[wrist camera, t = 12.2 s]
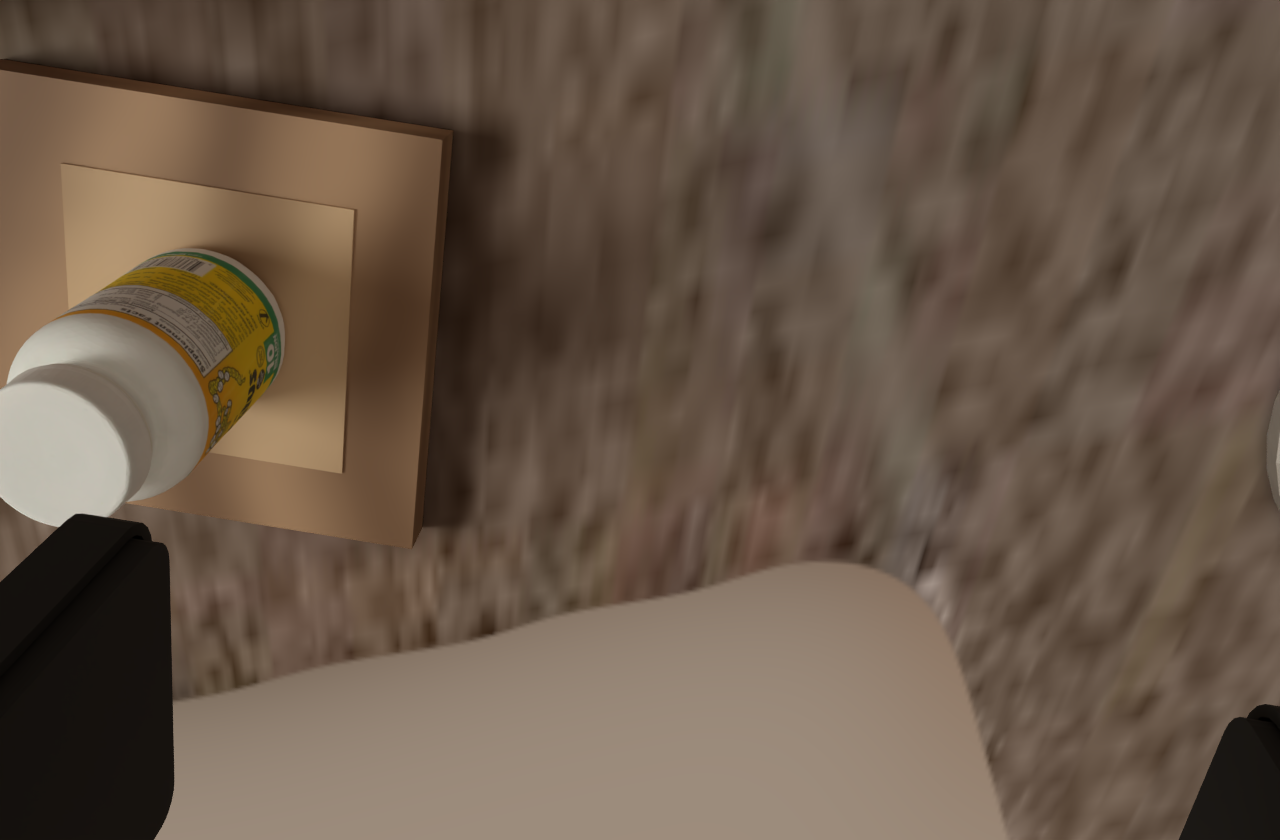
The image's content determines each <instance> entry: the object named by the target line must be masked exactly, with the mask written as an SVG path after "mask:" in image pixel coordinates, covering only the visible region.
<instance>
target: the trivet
mask: <svg viewBox="0 0 1280 840" xmlns="http://www.w3.org/2000/svg"><path fill="white" fill-rule="evenodd" d="M452 141H453V130H446V129H440V128H434V127H427V126H421V125H415V124H409V123H402V122H396V121H390V120H383V119H377V118H371V117H364V116H358V115H352V114H345V113H339V112H333V111H326V110H320V109H314V108H308V107H301V106H295V105H289V104H282V103H276V102H270V101H263V100H257V99H251V98H244V97H238V96H232V95H225V94H219V93H213V92H207V91H200V90H194V89H188V88H181V87H175V86H169V85H162V84H156V83H150V82H143V81H137V80H131V79H124V78H118V77H112V76H106V75H99V74H93V73H87V72H80V71H74V70H68V69H61V68H55V67H49V66H42V65H36V64H30V63H23V62H17V61H11V60H5V59H0V389H1V388H3V387H4V386H5V385H7V379H8V374H9V371H10V368H11V365H12V363H13V361H14V358H15V357H16V355H17V353H18V351H19V350H20V348H21V347H22V346H23V344H24V343H25V342H26V341H27V340H28V339H29V338H30V337H31V336H32V335H33V334H34V333H35V332H36V331H38V330H39V329H41V328H42V327H43V326H45V325H46V324H48V323H49V322H51V321H52V320H54V319H55V318H57V317H58V316H60V315H62V314H63V313H65V312H66V311H68V310H70V309H71V308H73V307H74V306H76V305H78V304H79V303H81V302H82V301H84V300H86V299H87V298H89V297H90V296H92V295H94V294H95V293H97V292H98V291H100V290H101V289H103V288H104V287H106V286H107V285H109V284H111V283H112V282H114V281H115V280H117V279H118V278H120V277H121V276H123V275H124V274H126V273H127V272H129V271H130V270H131V269H133V268H134V267H136V266H138V265H139V264H141V263H142V262H144V261H146V260H148V259H150V258H151V257H153V256H156V255H158V254H160V253H163V252H166V251H170V250H175V249H182V248H197V249H205V250H209V251H213V252H217V253H220V254H223V255H226V256H228V257H230V258H232V259H234V260H236V261H238V262H240V263H241V264H242V265H244V266H245V267H246V268H248V269H249V270H250V271H252V272H253V273H254V274H255V275H256V276H257V277H258V278H259V279H260V280H261V281H262V282H263V283H264V284H265V285H266V287H267V288H268V289H269V290H270V292H271V293H272V294H273V296H274V298H275V300H276V302H277V304H278V307H279V309H280V312H281V315H282V317H283V322H284V329H285V347H284V358H283V363H282V365H281V368H280V371H279V373H278V375H277V376H276V378H275V380H274V381H273V383H272V384H271V385H270V386H269V388H268V389H267V390H266V391H265V392H264V394H263V395H262V396H261V397H260V398H259V399H258V400H257V401H256V402H255V403H254V404H253V405H252V406H251V407H250V409H249V410H248V411H247V412H246V413H245V414H244V415H243V416H242V417H241V418H240V419H239V420H238V422H237V423H236V424H235V425H234V426H233V427H232V428H231V429H230V430H229V431H228V432H227V433H226V434H225V435H224V436H223V437H222V438H221V439H220V441H219V442H218V443H217V444H216V445H215V446H214V447H213V448H212V449H211V450H210V452H209V453H208V454H207V455H206V456H205V457H204V458H203V459H202V460H201V462H200V463H199V464H198V465H197V466H196V467H195V468H194V469H193V471H192V472H191V473H190V474H189V475H188V476H187V477H186V478H184V479H183V480H182V481H180V482H179V483H178V484H176V485H175V486H174V487H172V488H170V489H169V490H167V491H165V492H163V493H161V494H159V495H156V496H154V497H151V498H147V499H143V500H137V501H130V502H126V503H129V504H135V505H141V506H148V507H154V508H160V509H166V510H172V511H179V512H185V513H191V514H197V515H203V516H210V517H216V518H222V519H228V520H235V521H241V522H247V523H253V524H259V525H266V526H272V527H278V528H284V529H290V530H297V531H303V532H309V533H315V534H321V535H328V536H334V537H340V538H346V539H352V540H359V541H365V542H371V543H377V544H383V545H390V546H396V547H402V548H408V549H412V548H413V546H414V544H415V542H416V539H417V537H418V535H419V533H420V531H421V529H422V524H423V511H424V498H425V486H426V473H427V460H428V447H429V434H430V422H431V409H432V396H433V383H434V371H435V358H436V345H437V332H438V320H439V307H440V294H441V281H442V269H443V256H444V243H445V230H446V218H447V205H448V192H449V179H450V166H451V154H452Z"/></svg>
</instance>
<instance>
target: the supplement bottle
mask: <svg viewBox="0 0 1280 840" xmlns="http://www.w3.org/2000/svg"><path fill="white" fill-rule="evenodd" d="M284 347H285V329H284V322H283V317H282V315H281V312H280V309H279V307H278V304H277V302H276V300H275V298H274V296H273V294H272V293H271V292H270V290H269V289H268V288H267V287H266V285H265V284H264V283H263V282H262V281H261V280H260V279H259V278H258V277H257V276H256V275H255V274H254V273H253V272H252V271H250V270H249V269H248V268H246V267H245V266H244V265H242V264H241V263H240V262H238V261H236V260H234V259H232V258H230V257H228V256H226V255H223V254H220V253H217V252H213V251H209V250H205V249H197V248H182V249H175V250H170V251H166V252H163V253H160V254H158V255H156V256H153V257H151V258H150V259H148V260H146V261H144V262H142V263H141V264H139V265H138V266H136V267H134V268H133V269H131V270H130V271H129V272H127V273H126V274H124V275H123V276H121V277H120V278H118V279H117V280H115V281H114V282H112V283H111V284H109V285H107V286H106V287H104V288H103V289H101V290H100V291H98V292H97V293H95V294H94V295H92V296H90V297H89V298H87V299H86V300H84V301H82V302H81V303H79V304H78V305H76V306H74V307H73V308H71V309H70V310H68V311H66V312H65V313H63V314H62V315H60V316H58V317H57V318H55V319H54V320H52V321H51V322H49V323H48V324H46V325H45V326H43V327H42V328H41V329H39V330H38V331H36V332H35V333H34V334H33V335H32V336H31V337H30V338H29V339H28V340H27V341H26V342H25V343H24V344H23V346H22V347H21V348H20V350H19V351H18V353H17V355H16V357H15V358H14V361H13V363H12V365H11V368H10V371H9V374H8V379H7V385H5V386H4V387H3V388H1V389H0V497H1V498H2V499H3V500H4V501H5V502H6V503H8V504H9V505H10V506H12V507H13V508H14V509H16V510H17V511H19V512H20V513H22V514H24V515H26V516H27V517H29V518H32V519H34V520H36V521H39V522H41V523H44V524H48V525H51V526H56V527H60V526H61V525H62V524H63V523H64V522H65V521H66V520H67V519H69V518H70V517H72V516H73V515H75V514H82V513H83V514H89V515H96V516H102V517H109V516H110V515H112V514H113V513H115V512H116V511H117V510H118V509H119V508H120V507H122V506H123V505H124V504H125V503H126V502H130V501H137V500H143V499H147V498H151V497H154V496H156V495H159V494H161V493H163V492H165V491H167V490H169V489H170V488H172V487H174V486H175V485H176V484H178V483H179V482H180V481H182V480H183V479H184V478H186V477H187V476H188V475H189V474H190V473H191V472H192V471H193V469H194V468H195V467H196V466H197V465H198V464H199V463H200V462H201V460H202V459H203V458H204V457H205V456H206V455H207V454H208V453H209V452H210V450H211V449H212V448H213V447H214V446H215V445H216V444H217V443H218V442H219V441H220V439H221V438H222V437H223V436H224V435H225V434H226V433H227V432H228V431H229V430H230V429H231V428H232V427H233V426H234V425H235V424H236V423H237V422H238V420H239V419H240V418H241V417H242V416H243V415H244V414H245V413H246V412H247V411H248V410H249V409H250V407H251V406H252V405H253V404H254V403H255V402H256V401H257V400H258V399H259V398H260V397H261V396H262V395H263V394H264V392H265V391H266V390H267V389H268V388H269V386H270V385H271V384H272V383H273V381H274V380H275V378H276V376H277V375H278V373H279V371H280V368H281V365H282V363H283V358H284Z"/></svg>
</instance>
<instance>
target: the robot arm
mask: <svg viewBox="0 0 1280 840" xmlns="http://www.w3.org/2000/svg"><path fill="white" fill-rule="evenodd" d="M1267 472H1268V477H1269V481H1270V486H1271V490H1272V495H1273V499H1274V501H1275V503H1276V505H1277V507H1278V509H1279V511H1280V390H1279V392H1278V395H1277V397H1276V399H1275V402H1274V407H1273V411H1272V415H1271V420H1270V424H1269V428H1268V433H1267ZM173 791H174V746H173V701H172V656H171V611H170V566H169V553H168V550H167V547H166V546H165V545H164V544H163V543H159V542H153V541H152V539H151V534H150V532H149V529H148V527H147V526H146V525H144V524H143V523H139V522H133V521H127V520H120V519H114V518H108V517H102V516H96V515H89V514H83V513H82V514H75V515H73V516H72V517H70V518H69V519H67V520H66V521H65V522H64V523H63V524H62V525H61V526H60V527H59V528H58V529H57V530H56V531H54V532H53V533H52V534H51V535H50V536H49V537H48V538H47V539H46V540H45V541H44V542H43V543H42V544H41V545H40V546H38V547H37V548H36V549H35V550H34V551H33V552H32V553H31V554H30V555H29V556H28V557H27V558H26V559H25V560H24V561H22V562H21V563H20V564H19V565H18V566H17V567H16V568H15V569H14V570H13V571H12V572H11V573H10V574H9V575H8V576H6V577H5V578H4V579H3V580H2V581H1V582H0V840H154V839H155V837H156V835H157V834H158V832H159V830H160V829H161V827H162V825H163V823H164V821H165V819H166V816H167V814H168V811H169V808H170V805H171V801H172V796H173ZM1179 840H1280V706H1274V705H1267V704H1264V705H1260V706H1257V707H1256V708H1255V709H1253V710H1252V711H1251V712H1250V713H1249V715H1248V717H1247V718H1243V717H1238V718H1234V719H1233V720H1232V721H1231V722H1230V723H1229V724H1228V726H1227V728H1226V730H1225V731H1224V734H1223V736H1222V738H1221V741H1220V743H1219V746H1218V748H1217V750H1216V753H1215V755H1214V757H1213V760H1212V762H1211V765H1210V767H1209V769H1208V772H1207V774H1206V776H1205V779H1204V781H1203V784H1202V786H1201V788H1200V791H1199V793H1198V795H1197V798H1196V800H1195V802H1194V805H1193V807H1192V810H1191V812H1190V814H1189V817H1188V819H1187V821H1186V824H1185V826H1184V829H1183V831H1182V833H1181V836H1180V838H1179Z"/></svg>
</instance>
